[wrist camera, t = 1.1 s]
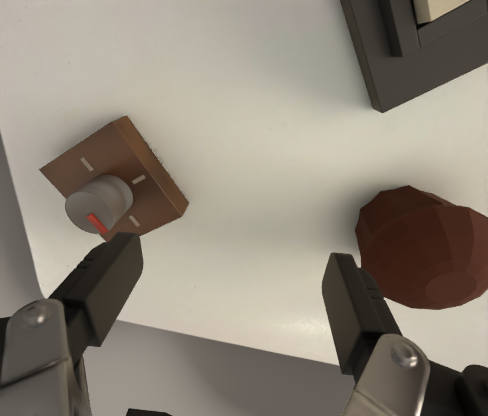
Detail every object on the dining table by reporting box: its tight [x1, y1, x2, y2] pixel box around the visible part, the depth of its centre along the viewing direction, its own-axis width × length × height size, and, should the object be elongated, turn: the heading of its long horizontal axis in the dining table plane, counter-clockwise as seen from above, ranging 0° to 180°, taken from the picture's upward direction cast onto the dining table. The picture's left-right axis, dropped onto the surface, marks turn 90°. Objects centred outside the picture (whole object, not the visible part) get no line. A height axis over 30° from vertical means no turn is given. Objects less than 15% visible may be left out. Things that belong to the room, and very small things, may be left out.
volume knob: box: [65, 174, 133, 234], centre depth 25 cm, size 4×4×4 cm
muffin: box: [355, 185, 488, 310], centre depth 26 cm, size 12×11×10 cm
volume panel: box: [39, 116, 189, 242], centre depth 29 cm, size 11×10×3 cm
